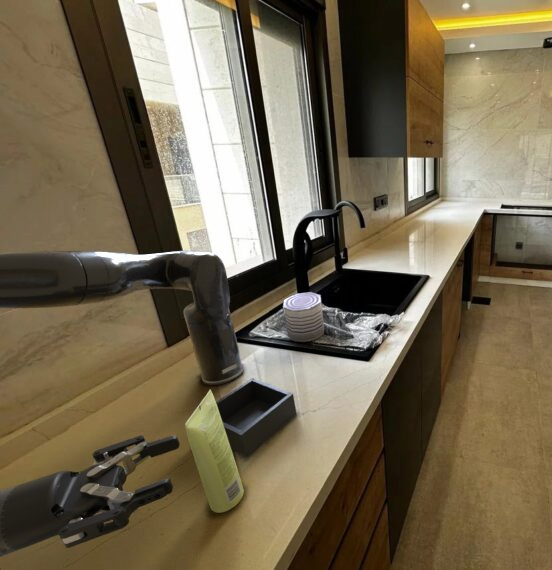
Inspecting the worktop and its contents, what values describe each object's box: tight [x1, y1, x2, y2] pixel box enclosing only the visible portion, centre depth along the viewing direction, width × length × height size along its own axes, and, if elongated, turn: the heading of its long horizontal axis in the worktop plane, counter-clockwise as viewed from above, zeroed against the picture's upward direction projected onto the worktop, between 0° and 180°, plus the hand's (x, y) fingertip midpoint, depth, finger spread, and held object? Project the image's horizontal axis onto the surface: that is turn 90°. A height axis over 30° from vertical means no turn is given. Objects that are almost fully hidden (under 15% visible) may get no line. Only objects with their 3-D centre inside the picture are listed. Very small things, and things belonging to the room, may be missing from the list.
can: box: [282, 291, 325, 343], centre depth 104 cm, size 11×11×12 cm
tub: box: [216, 377, 298, 459], centre depth 69 cm, size 13×13×6 cm
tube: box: [184, 389, 245, 514], centre depth 51 cm, size 6×5×20 cm
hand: (175, 461), depth 49 cm, fingers open, 8 cm apart
